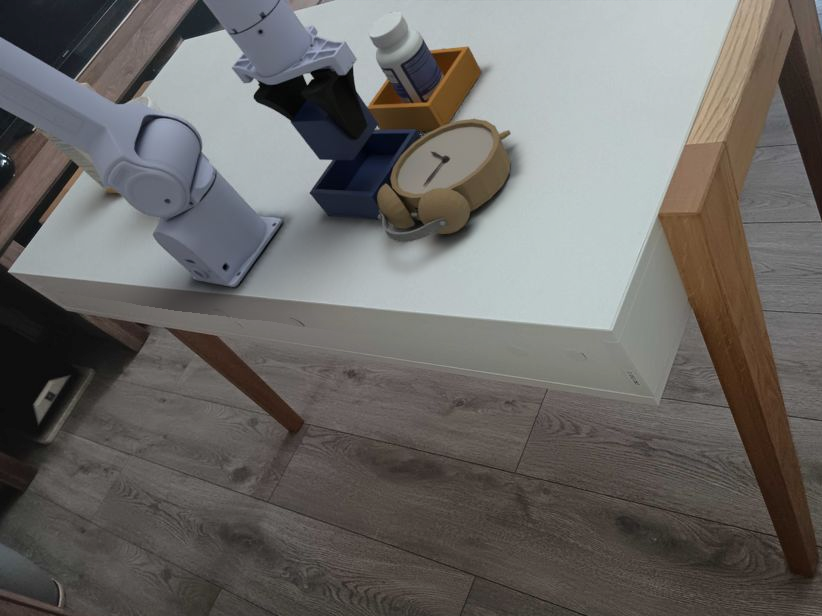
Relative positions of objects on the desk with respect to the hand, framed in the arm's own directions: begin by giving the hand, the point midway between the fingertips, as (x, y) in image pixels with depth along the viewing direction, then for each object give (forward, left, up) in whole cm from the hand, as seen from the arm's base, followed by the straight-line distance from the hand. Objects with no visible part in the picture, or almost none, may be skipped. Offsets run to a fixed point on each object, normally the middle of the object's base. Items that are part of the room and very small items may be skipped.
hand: (341, 132), depth 74 cm
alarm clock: (-1, -11, -7) cm, 13 cm away
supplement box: (0, +50, -7) cm, 51 cm away
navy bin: (0, 0, -7) cm, 7 cm away
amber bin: (+12, 0, -7) cm, 14 cm away
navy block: (0, 0, -1) cm, 1 cm away
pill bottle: (+12, 0, -7) cm, 14 cm away
